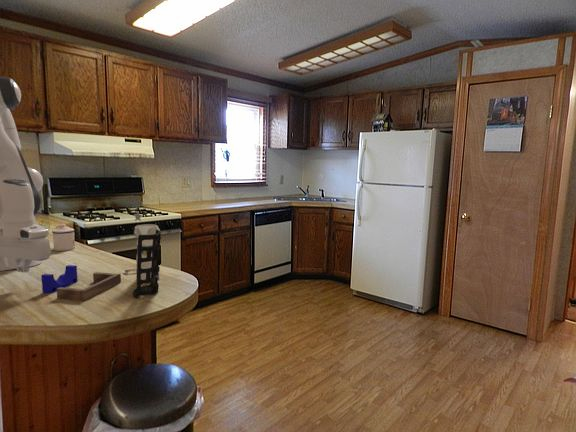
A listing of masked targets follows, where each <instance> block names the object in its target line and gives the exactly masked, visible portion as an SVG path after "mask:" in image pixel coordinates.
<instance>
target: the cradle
mask: <svg viewBox="0 0 576 432" xmlns="http://www.w3.org/2000/svg"><path fill="white" fill-rule="evenodd" d="M92 275H93V276H92V278H93V282H94V283H93V284H91V285H90V286H87V287H85V288H75V287H73V288H72V287H65V288H63V287H60V288H57V291H56V299H60V300H71V301H72V300H74V301H82V302H83V301H84V302H85V301H87V300H89V299H92V298H93V297H95V296H97V295H99V294H101V293H103V292H105V291H107V290H109V289H111V288H112V287H115V286H116V285H119V284H121V283H122V276H121V273H112V272H111V273H110V272H99V271H98V272H97V271H96V272H93V273H92Z"/></svg>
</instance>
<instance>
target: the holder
mask: <svg viewBox="0 0 576 432" xmlns="http://www.w3.org/2000/svg"><path fill="white" fill-rule="evenodd" d="M161 236H162V232H161V230H160V231H159V230H157V229H156V233H155V234H152V235H139V236H138V237H137V239H138V251H137V250H136V251H137V253H136V255H137V268H136V273H137V281H136V288H134V289H133V290H132V296H133V297H134V298H136V299H137V298H139V297H142V296H147V295H157V293H159V287H160V286H159V285H160V284H159V283H158V281H159V280H158V277H157V276H158V272H160V265H159V263H160V259H161V249H162V248H161V239H162V237H161ZM152 239H153V245H152V246H150V247H142V241H143V240H152ZM143 251H147V257H146V258H142V252H143ZM151 252H152V257H151ZM150 261H152V267H151V268H147V269H142V268H141V263H142V262H150ZM142 273H146V279H145V280H141V274H142ZM150 275H151V278H150ZM146 284H147V285H146Z"/></svg>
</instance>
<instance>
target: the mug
mask: <svg viewBox="0 0 576 432" xmlns="http://www.w3.org/2000/svg"><path fill="white" fill-rule="evenodd" d="M44 221H45V223H44ZM47 223H48V227H47ZM37 224H38V225H40V226H42V227H44V228H46V229H48V230H49V229H50V227H51V222H50V221H49V220H47V219H42V220H40V221H39V222H38V223H37ZM46 237H47V238H48V239H49V240H50V238H49V235H47V236H46Z"/></svg>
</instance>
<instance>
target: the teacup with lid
mask: <svg viewBox="0 0 576 432" xmlns="http://www.w3.org/2000/svg"><path fill="white" fill-rule="evenodd" d="M51 233H52V241H53V250H54V251H56V252H65V251H72V250H74V249H76V241H75V229H74V228H72V227H69V226H66V224H65V223H63V224H60V226H59V227H57V228H54V229H52V232H51Z"/></svg>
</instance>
